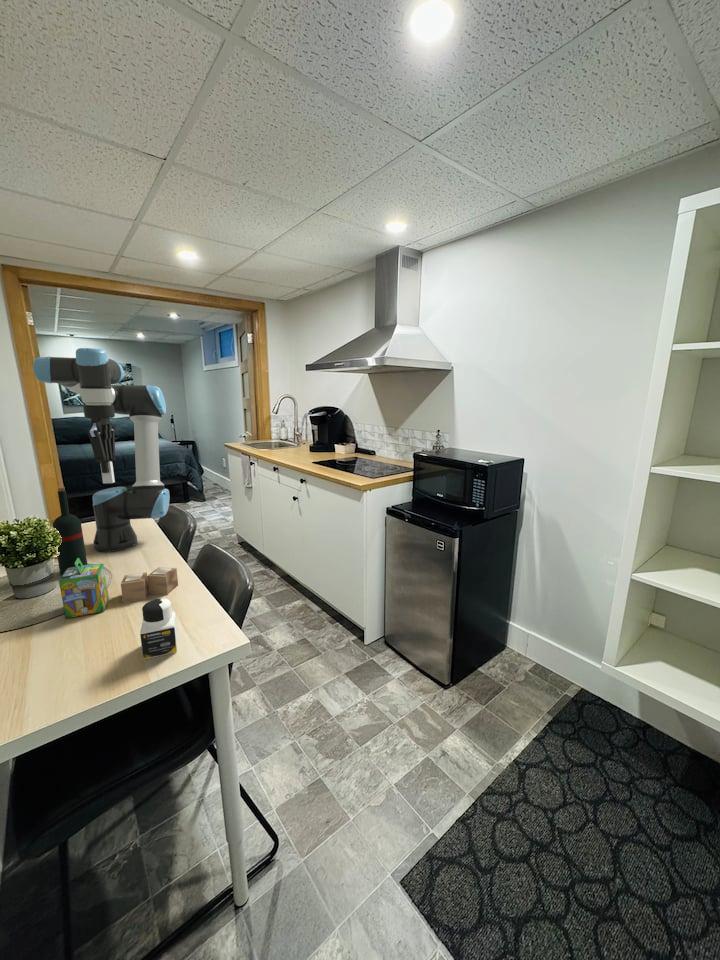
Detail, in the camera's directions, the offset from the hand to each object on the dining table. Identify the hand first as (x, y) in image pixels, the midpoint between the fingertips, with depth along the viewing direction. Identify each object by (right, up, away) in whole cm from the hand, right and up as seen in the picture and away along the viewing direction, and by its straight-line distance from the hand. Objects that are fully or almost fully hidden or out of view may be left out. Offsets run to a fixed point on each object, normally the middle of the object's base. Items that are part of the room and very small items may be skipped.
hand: (108, 482), depth 119 cm
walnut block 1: (+9, -35, 0) cm, 36 cm away
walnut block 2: (+15, -34, +4) cm, 37 cm away
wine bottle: (-22, -31, +16) cm, 41 cm away
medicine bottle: (+29, -40, -25) cm, 55 cm away
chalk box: (-1, -36, -7) cm, 37 cm away
